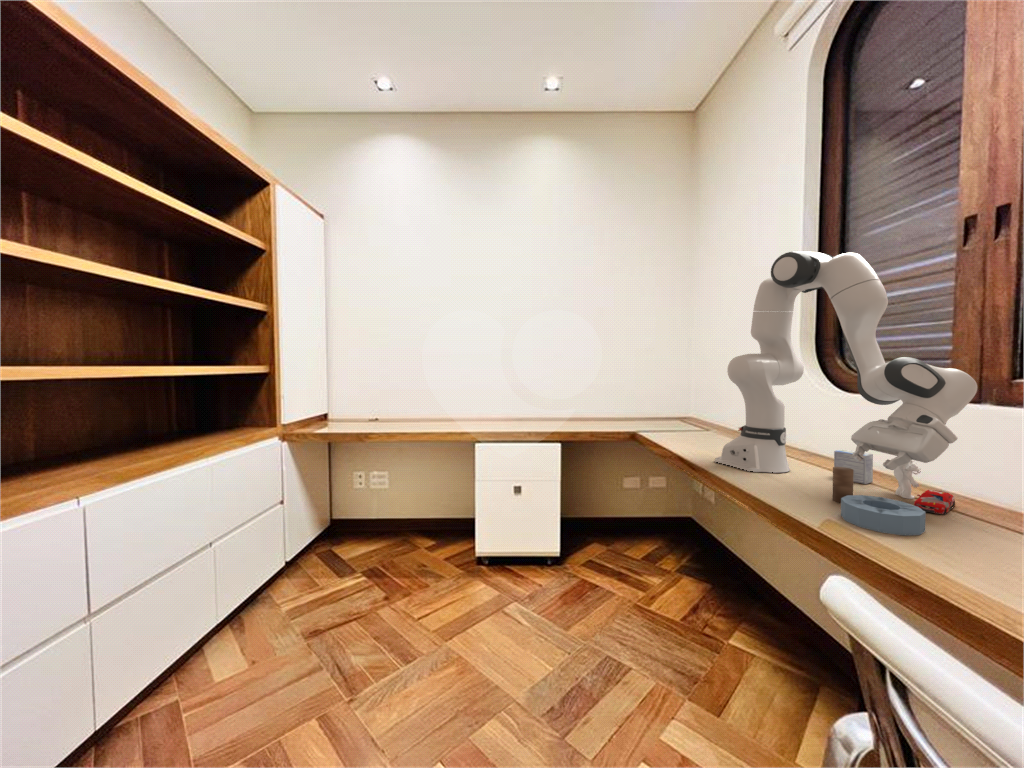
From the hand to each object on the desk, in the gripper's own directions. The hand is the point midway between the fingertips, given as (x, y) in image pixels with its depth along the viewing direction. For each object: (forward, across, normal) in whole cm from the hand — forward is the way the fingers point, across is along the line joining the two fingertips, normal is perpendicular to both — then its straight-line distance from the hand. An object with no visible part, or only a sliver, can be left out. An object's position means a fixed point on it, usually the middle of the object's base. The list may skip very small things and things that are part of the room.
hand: (870, 463), depth 98 cm
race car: (-1, +4, +16) cm, 16 cm away
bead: (+13, +14, +1) cm, 19 cm away
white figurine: (-2, -5, +16) cm, 17 cm away
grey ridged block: (0, -19, +15) cm, 24 cm away
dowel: (+12, 0, +2) cm, 12 cm away
